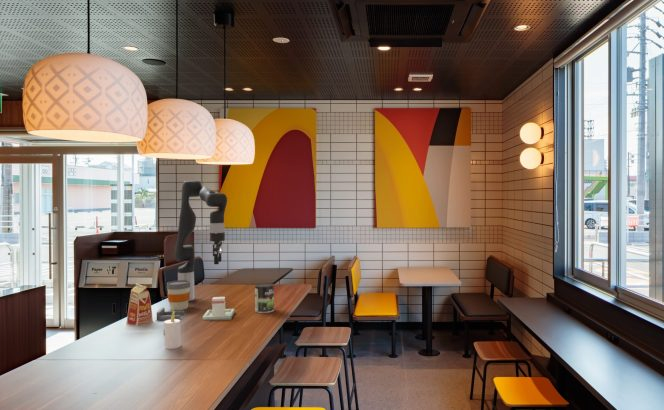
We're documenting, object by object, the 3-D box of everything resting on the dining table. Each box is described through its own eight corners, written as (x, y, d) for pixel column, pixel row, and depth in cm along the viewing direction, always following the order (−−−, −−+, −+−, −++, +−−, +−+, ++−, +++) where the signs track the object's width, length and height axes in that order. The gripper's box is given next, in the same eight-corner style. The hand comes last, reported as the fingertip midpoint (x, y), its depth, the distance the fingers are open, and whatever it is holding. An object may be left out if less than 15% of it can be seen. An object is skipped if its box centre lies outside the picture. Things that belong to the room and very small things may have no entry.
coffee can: (278, 310, 233) (277, 284, 233) (264, 314, 225) (264, 287, 225) (265, 307, 240) (264, 282, 239) (251, 311, 231) (250, 285, 231)
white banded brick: (213, 314, 224) (213, 297, 224) (225, 313, 224) (225, 296, 224) (212, 316, 220) (211, 299, 220) (224, 315, 220) (223, 298, 220)
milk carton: (126, 325, 210) (125, 284, 209) (142, 320, 218) (141, 281, 218) (138, 327, 206) (137, 285, 205) (154, 322, 214) (153, 282, 213)
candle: (164, 344, 180) (163, 309, 180) (180, 342, 182) (179, 307, 182) (163, 349, 174) (163, 313, 174) (180, 347, 177) (180, 311, 176)
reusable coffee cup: (194, 306, 244) (194, 280, 244) (185, 312, 232) (184, 284, 232) (173, 306, 246) (173, 280, 245) (162, 311, 233) (162, 284, 233)
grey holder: (161, 316, 225) (161, 307, 225) (187, 315, 226) (186, 306, 226) (155, 322, 214) (154, 312, 214) (181, 321, 215) (181, 311, 215)
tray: (207, 313, 229) (207, 309, 229) (234, 312, 230) (234, 308, 230) (202, 321, 215) (202, 317, 215) (230, 319, 216) (230, 315, 216)
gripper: (212, 230, 228) (213, 261, 229) (207, 233, 214) (207, 265, 214) (226, 230, 229) (227, 260, 229) (222, 232, 215) (223, 264, 215)
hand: (217, 262), depth 222 cm, fingers open, 8 cm apart
